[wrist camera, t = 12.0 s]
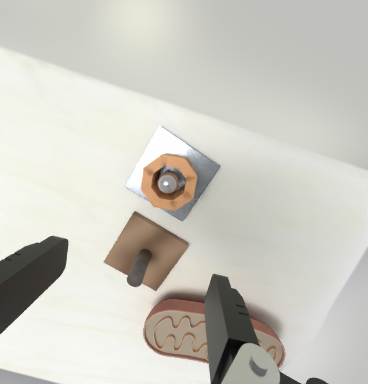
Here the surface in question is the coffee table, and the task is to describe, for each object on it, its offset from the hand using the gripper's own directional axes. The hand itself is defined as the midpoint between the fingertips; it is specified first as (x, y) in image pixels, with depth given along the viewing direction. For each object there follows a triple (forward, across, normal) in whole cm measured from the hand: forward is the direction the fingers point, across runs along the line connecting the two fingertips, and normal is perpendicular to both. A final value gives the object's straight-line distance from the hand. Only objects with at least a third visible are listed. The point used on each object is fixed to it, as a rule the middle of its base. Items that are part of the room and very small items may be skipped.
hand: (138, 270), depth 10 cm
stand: (+19, +2, +11) cm, 22 cm away
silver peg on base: (+19, 0, -3) cm, 19 cm away
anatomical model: (+20, -12, +21) cm, 31 cm away
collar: (+18, 0, -3) cm, 18 cm away
